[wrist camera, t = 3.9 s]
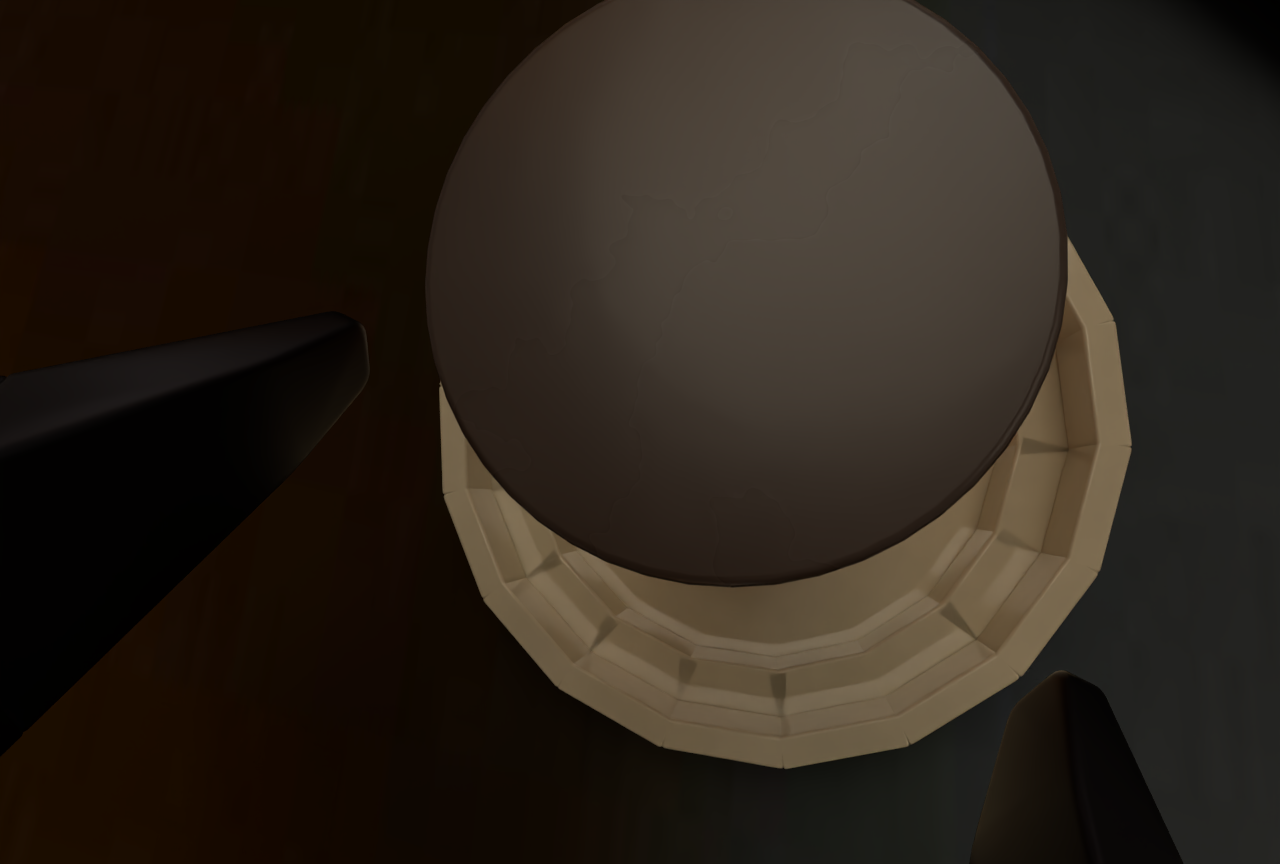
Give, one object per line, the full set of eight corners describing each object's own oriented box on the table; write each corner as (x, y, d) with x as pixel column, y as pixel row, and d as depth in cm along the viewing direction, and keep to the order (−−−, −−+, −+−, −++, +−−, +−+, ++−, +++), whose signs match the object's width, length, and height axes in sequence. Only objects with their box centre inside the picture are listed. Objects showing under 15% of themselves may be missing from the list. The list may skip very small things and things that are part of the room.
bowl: (621, 801, 18) (584, 870, 15) (425, 305, 20) (353, 265, 17) (1173, 584, 16) (1278, 606, 13) (893, 69, 19) (920, -29, 15)
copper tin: (708, 560, 18) (556, 691, 5) (629, 380, 18) (339, 138, 6) (898, 479, 17) (1210, 418, 5) (808, 296, 18) (883, -158, 6)
